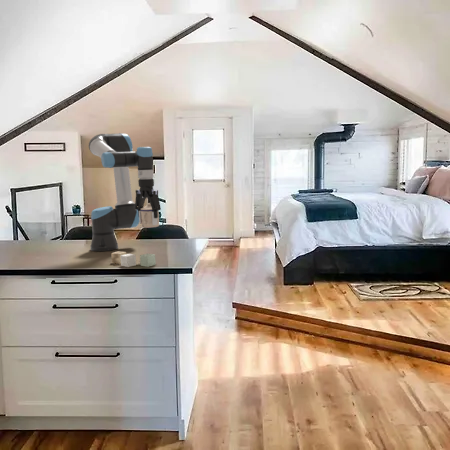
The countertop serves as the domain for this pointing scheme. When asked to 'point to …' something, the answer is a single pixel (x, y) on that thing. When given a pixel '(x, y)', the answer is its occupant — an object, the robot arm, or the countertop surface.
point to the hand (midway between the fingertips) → (148, 224)
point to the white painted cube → (128, 260)
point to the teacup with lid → (148, 217)
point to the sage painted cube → (147, 260)
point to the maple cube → (117, 257)
